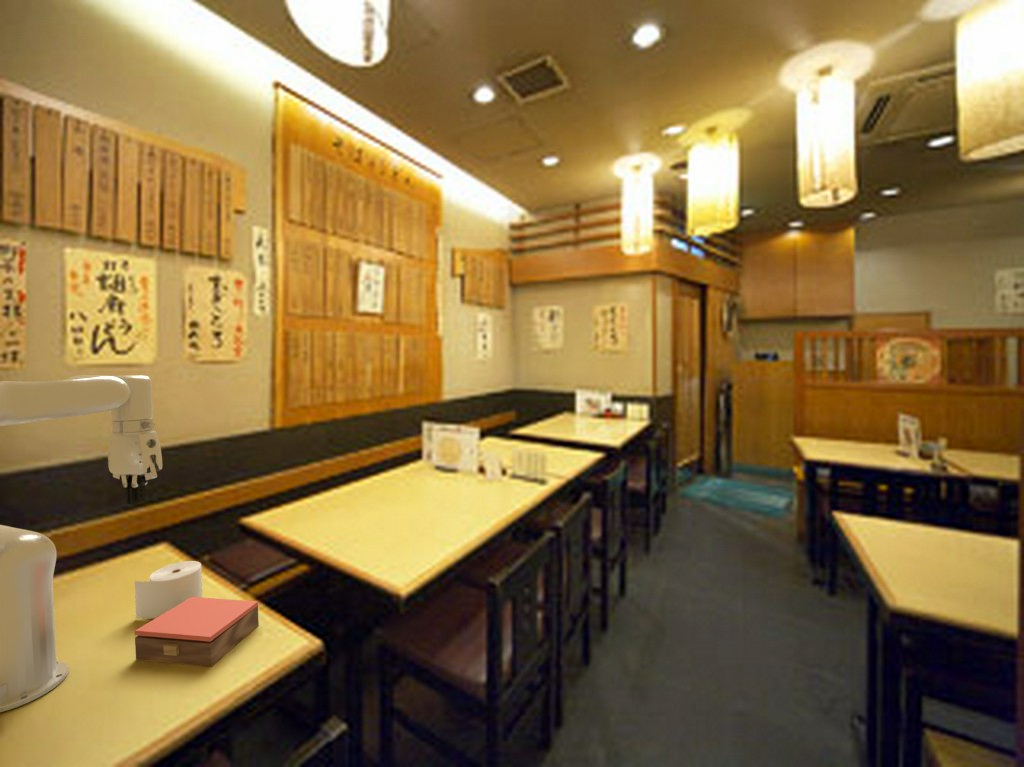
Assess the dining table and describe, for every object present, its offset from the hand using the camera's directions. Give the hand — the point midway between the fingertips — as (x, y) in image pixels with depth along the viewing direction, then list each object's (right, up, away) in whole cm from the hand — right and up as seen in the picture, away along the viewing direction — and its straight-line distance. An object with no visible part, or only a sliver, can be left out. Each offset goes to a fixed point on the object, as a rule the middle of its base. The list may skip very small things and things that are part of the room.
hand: (136, 502), depth 100 cm
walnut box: (+18, -31, -4) cm, 37 cm away
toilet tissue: (+2, -31, +9) cm, 32 cm away
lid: (+18, -26, -4) cm, 32 cm away
